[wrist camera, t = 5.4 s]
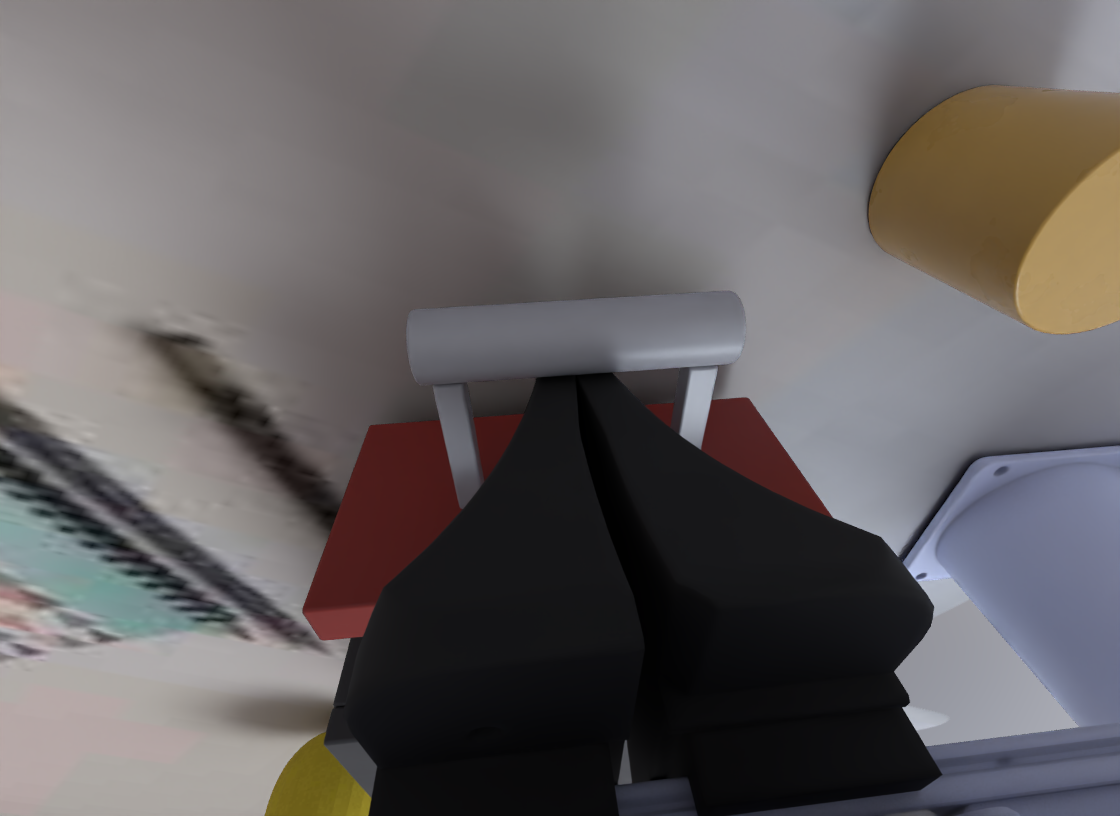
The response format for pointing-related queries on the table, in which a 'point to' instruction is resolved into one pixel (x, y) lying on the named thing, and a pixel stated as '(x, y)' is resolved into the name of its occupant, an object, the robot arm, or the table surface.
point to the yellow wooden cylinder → (1012, 202)
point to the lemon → (317, 786)
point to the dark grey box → (353, 753)
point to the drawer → (478, 443)
